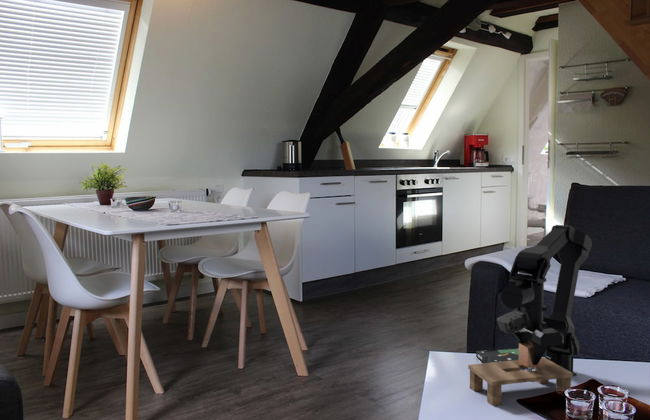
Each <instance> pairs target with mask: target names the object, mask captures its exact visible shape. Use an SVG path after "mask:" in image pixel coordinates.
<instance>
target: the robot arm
mask: <svg viewBox="0 0 650 420" xmlns="http://www.w3.org/2000/svg"><path fill="white" fill-rule="evenodd" d="M592 246H593V242H592V238H591V237H589V236H588V234H586V233H585V232H582V231H580V230H578V229H575V227H573V226H571V225H563V224H554V225H553V226H552V227H551V230H550V231H549V232H548V233H547V234H546V235H545V236H544V237H543V238H542V239H540V241H539V242H537V244H535V245H534V246H530V247H526V248H523V249H522V250H520V251H519V252H518V253H517V255H516V256H515V258H514V260H513V263H512V266H511V269H510V272H509V275H508V279H509V280H508V285H506V286H504V287H503V288H502V290H501V293H500V299H501V301H502V304H503V305H504V306H505V307H506V308H508V309H512V310H513V311H509V312H507V313H505V314H503V315H501V316H498V317H497V318H496V321H497V324H498V326H499V327H498V328H499V329H500V331H501V332H503V333H505V334H507V335H513V336H514V337H515V338H516V340H517V343H518V344H519V343H525V342H529V343H530V344H531V351H532V362H533V365H538V363H539V361H540V359H541V358H543V357H544V356H543V355H544V353H545V352H546V355H545V357H544V358H546V359H548V360H550V361H552V362H553V363H555V364H557V365H559V366H561V367H563V368H564V369H566V370H568V371H570V372H572V373H573V377H574V376H578V375H577V372H576V371H574V356H579V353H580V347H581V346H580V342H579V341H578V339H577V337H576V335H575V330H576V327H575V326H574V323H573V321H572V318H571V317H572V311H573V304H574V301H575V299H574V298H575V293H576V288H577V283H578V277H579V272H580V267H581V265H583V263H584V262H585V261H586V260H587V259H588V258H589V253H590V251H591V250H592ZM556 254H557V255H558V258H559V259H560V267H559V272H558V276H557V277H558V278H557V284H556V289H555V293H554V294H555V295H554V300H553V304H552V311H551V313H550V314H549V315H548V317H544V312H547V311H548V306H546V305H544V294H545V293H544V292H545V290H544V289H545V287H544V286H545V282H547V278H546V276H547V274H548V271H549V269H550V268H551V260H552V258H554V256H555V255H556Z"/></svg>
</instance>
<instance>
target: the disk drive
mask: <svg viewBox="0 0 650 420" xmlns="http://www.w3.org/2000/svg"><path fill="white" fill-rule="evenodd" d="M475 354H476V355H475V358H476V357H477V358H478V359H479V360H480V361H481V362H480V361H479V360H478V359H477V358H476V359H477V360H478V361H479V362H480V363H481V364H482V363H492V362H502V361H512V360H519V348H516V347H515V348H504V349H503V348H502V349H488V350H487V349H486V350H476V352H475Z"/></svg>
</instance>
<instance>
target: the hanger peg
mask: <svg viewBox="0 0 650 420" xmlns="http://www.w3.org/2000/svg"><path fill="white" fill-rule="evenodd" d="M518 349H519V363H521V364H522V365H524V366H526V367H527V370H526V371H527V372H528V371H533V368H532V367H537V366H542V358H543V357H542V358H541V359H540V361H539V363H538V365H533V362H532V351H531V344H530V343H529V342H525V343H518ZM534 382H536V381H532V382H531V383H534Z"/></svg>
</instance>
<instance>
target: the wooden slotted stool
mask: <svg viewBox="0 0 650 420" xmlns="http://www.w3.org/2000/svg"><path fill="white" fill-rule="evenodd" d="M467 367H468V368H467V369H468V370H469V388H470V390H472V391H473V392H479V391H484V384H483V383H484V382H486V383H487V384H486V385H487V387H486V388H487V390H486V391H487V393H486V396H487V397H486V399H487V400H486V402H487V403H488V404H489V405H491V406H499V405H502V388H503V387H502V385H503V386H504V385H512V384H522V383H533V382H532V381H535V382H537V383H538V384H540V385H541V384H543V385H544V384H549V382H550V381H549V380H555V381H556V382H555V392H556V391H564V390H565V389H568V388H571V389H572V387H571V385H572V384H571V383H572V378H573V377H574V376H573V373H572V372H570V371H568V370H566V369H564V368H563V367H561V366H559V365H557V364H555V363H553V362H552V361H550V360H548V359H546V358H545V357H544V356H542V366H537V367H532V369H533V370H532V371H528V372H527V370H526V369H527V367H526V366H524V365H522V364H521V363H519V360H512V361H502V362H492V363H482V362H481V363H474V364H467Z"/></svg>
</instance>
